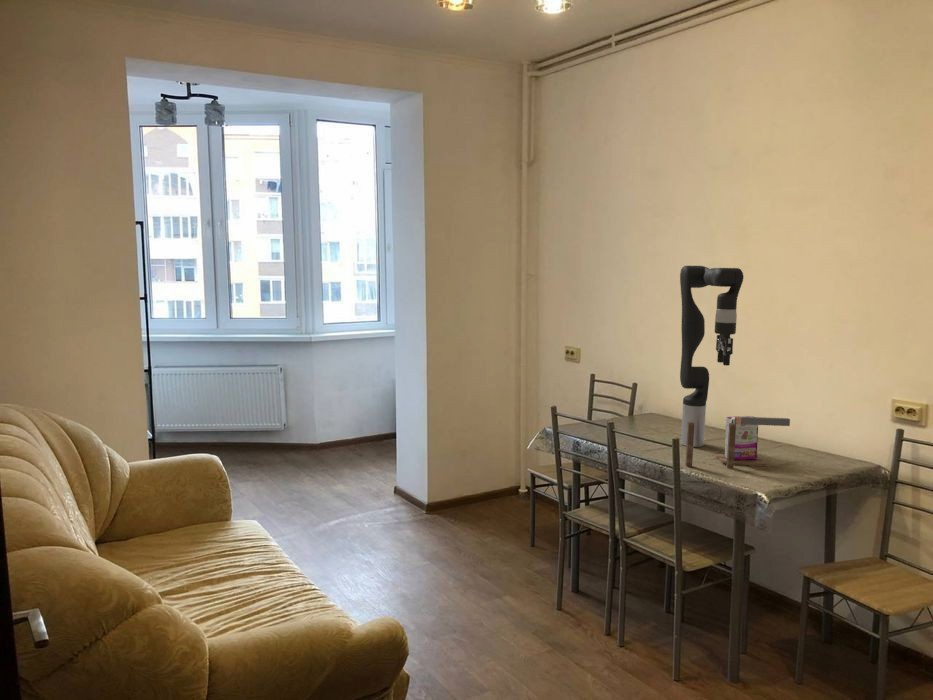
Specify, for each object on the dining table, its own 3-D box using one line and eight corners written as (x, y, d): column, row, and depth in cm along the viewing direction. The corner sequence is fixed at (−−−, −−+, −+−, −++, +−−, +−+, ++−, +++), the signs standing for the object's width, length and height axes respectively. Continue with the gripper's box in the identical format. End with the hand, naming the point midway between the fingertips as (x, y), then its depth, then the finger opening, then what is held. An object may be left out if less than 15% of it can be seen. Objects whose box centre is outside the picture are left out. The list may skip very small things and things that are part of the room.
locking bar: (734, 423, 265) (735, 416, 264) (787, 425, 263) (788, 418, 263) (736, 424, 263) (736, 417, 262) (789, 426, 261) (790, 419, 260)
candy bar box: (749, 456, 278) (752, 415, 276) (757, 460, 273) (759, 418, 271) (723, 457, 276) (725, 416, 275) (730, 460, 272) (732, 418, 270)
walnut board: (715, 456, 282) (715, 453, 281) (756, 458, 280) (756, 455, 280) (722, 464, 270) (723, 462, 270) (766, 466, 268) (766, 463, 268)
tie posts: (685, 465, 268) (687, 421, 266) (731, 467, 267) (734, 423, 265) (686, 466, 266) (688, 422, 264) (733, 468, 265) (736, 424, 263)
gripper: (741, 322, 260) (738, 366, 262) (730, 320, 274) (728, 361, 276) (720, 322, 261) (717, 366, 263) (710, 319, 275) (708, 361, 277)
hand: (723, 363), depth 269 cm, fingers open, 8 cm apart
